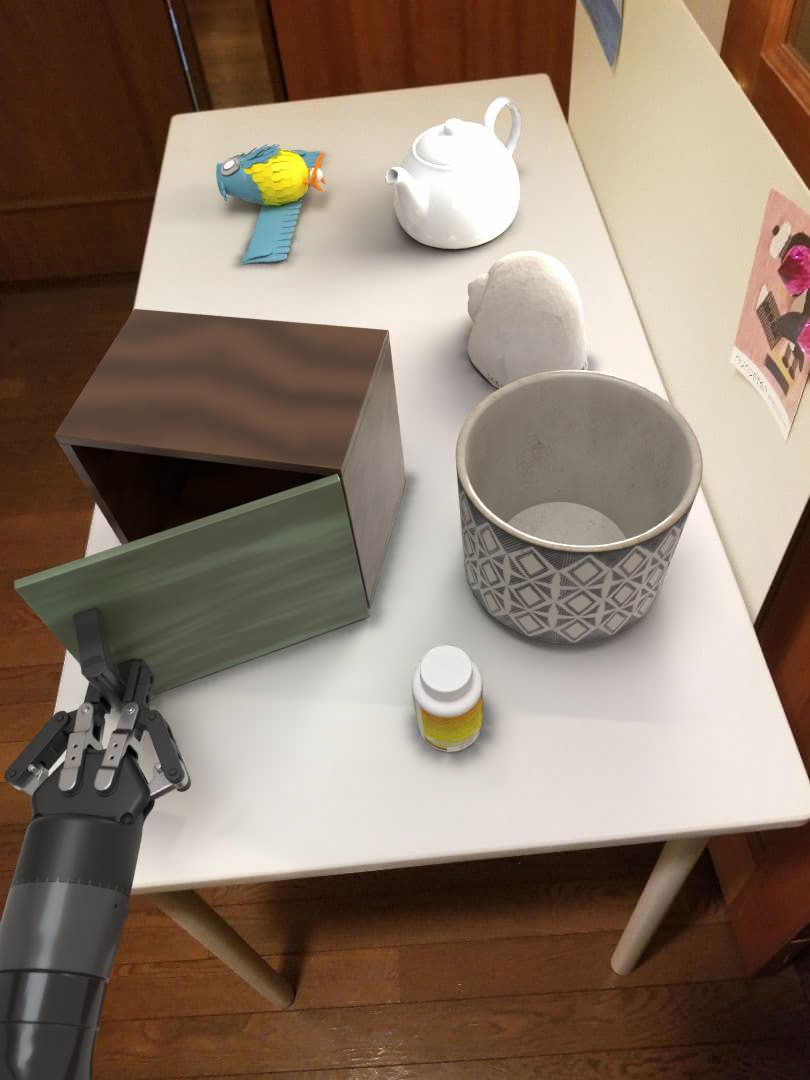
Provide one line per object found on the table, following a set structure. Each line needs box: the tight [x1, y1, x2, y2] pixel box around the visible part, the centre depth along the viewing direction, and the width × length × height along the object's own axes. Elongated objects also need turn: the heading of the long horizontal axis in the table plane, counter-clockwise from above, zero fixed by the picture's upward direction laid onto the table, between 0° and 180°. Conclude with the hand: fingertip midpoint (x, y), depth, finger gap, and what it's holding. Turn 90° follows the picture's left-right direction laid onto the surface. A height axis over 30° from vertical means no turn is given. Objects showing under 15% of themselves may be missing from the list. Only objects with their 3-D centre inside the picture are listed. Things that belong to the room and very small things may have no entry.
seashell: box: [467, 250, 589, 389], centre depth 93 cm, size 15×14×15 cm
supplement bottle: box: [411, 644, 484, 753], centre depth 65 cm, size 6×6×10 cm
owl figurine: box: [215, 143, 327, 265], centre depth 115 cm, size 28×9×15 cm
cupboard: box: [54, 308, 407, 609], centre depth 75 cm, size 16×24×20 cm, turn 78°
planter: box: [455, 370, 704, 644], centre depth 71 cm, size 19×19×16 cm
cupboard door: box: [13, 474, 370, 717], centre depth 64 cm, size 7×24×20 cm, turn 111°
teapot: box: [384, 96, 523, 250], centre depth 108 cm, size 19×18×14 cm
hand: (126, 664), depth 63 cm, fingers closed on cupboard door, 2 cm apart
